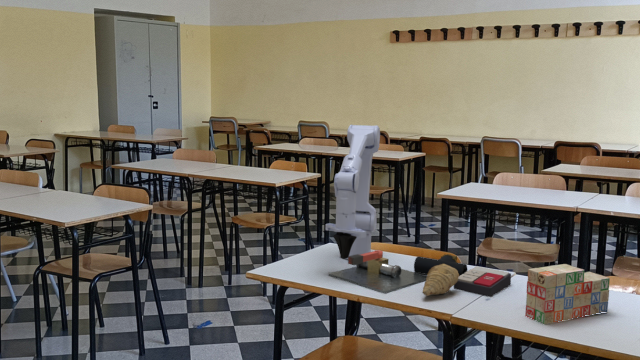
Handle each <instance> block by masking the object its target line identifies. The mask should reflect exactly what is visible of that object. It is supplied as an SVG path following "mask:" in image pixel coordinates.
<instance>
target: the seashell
mask: <svg viewBox="0 0 640 360" xmlns="http://www.w3.org/2000/svg"><path fill="white" fill-rule="evenodd" d="M426 276H427V278H426V281H424V286H423V287H422V292H421V293H422V294H423V295H424V296H431V295H432V296H433V295H444V294H446V293H449V291H450V289H451V288H452V287H454V284H455V283H457V281H458V277H459V273H458V271H457V270H456V269H455V268H452V267H451V266H449V265H446V264H441V265H437V266H434V267H432V268H431V269H430V270H429V272H428V274H426Z"/></svg>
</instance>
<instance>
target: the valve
mask: <svg viewBox="0 0 640 360" xmlns="http://www.w3.org/2000/svg"><path fill="white" fill-rule="evenodd" d="M328 276H330V277H333V278H336V279H338V280H342V281H345V282H348V283H351V284H354V285H357V286H360V287H363V288H366V289H369V290H373V291H375V292H378V293H381V294H389V293H391V292H395V291H397V290H400V289H403V288H404V289H405V288H408V287H410V286H413V285H416V284H420V283H423V282H426V278H427V274H422V273H416V272H415V271H411V270H407V269H404V268H402V267H401V266H400V265H392V264H389V258H387V257H383V258H377V259H373V260H369V261H365V262H363V263H361V264H357V265H355V266H353V267H349V268H345V269H341V270H338V271H334V272H328Z"/></svg>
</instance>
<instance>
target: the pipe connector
mask: <svg viewBox="0 0 640 360" xmlns="http://www.w3.org/2000/svg"><path fill="white" fill-rule="evenodd" d="M441 264H446V265H449V266H451V267H452V268H455V269H456V270H457V271H458V273H459V276H460V275H462V274H464V273H465V272H467V271H468V266H467V265H468V264H466V263H461V262H459V263H458V256H456V255H453V254H449V253H447V254H443V255H441V256H440V258H439V259H437V258H436V259H435V258H429V257H425V256H424V257H423V256H416V257H415V259H414V263H413V272H415V273H419V274H422V275H427V274H428V272H429V270H430V269H431V268H432V267H434V266H437V265H441Z"/></svg>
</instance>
